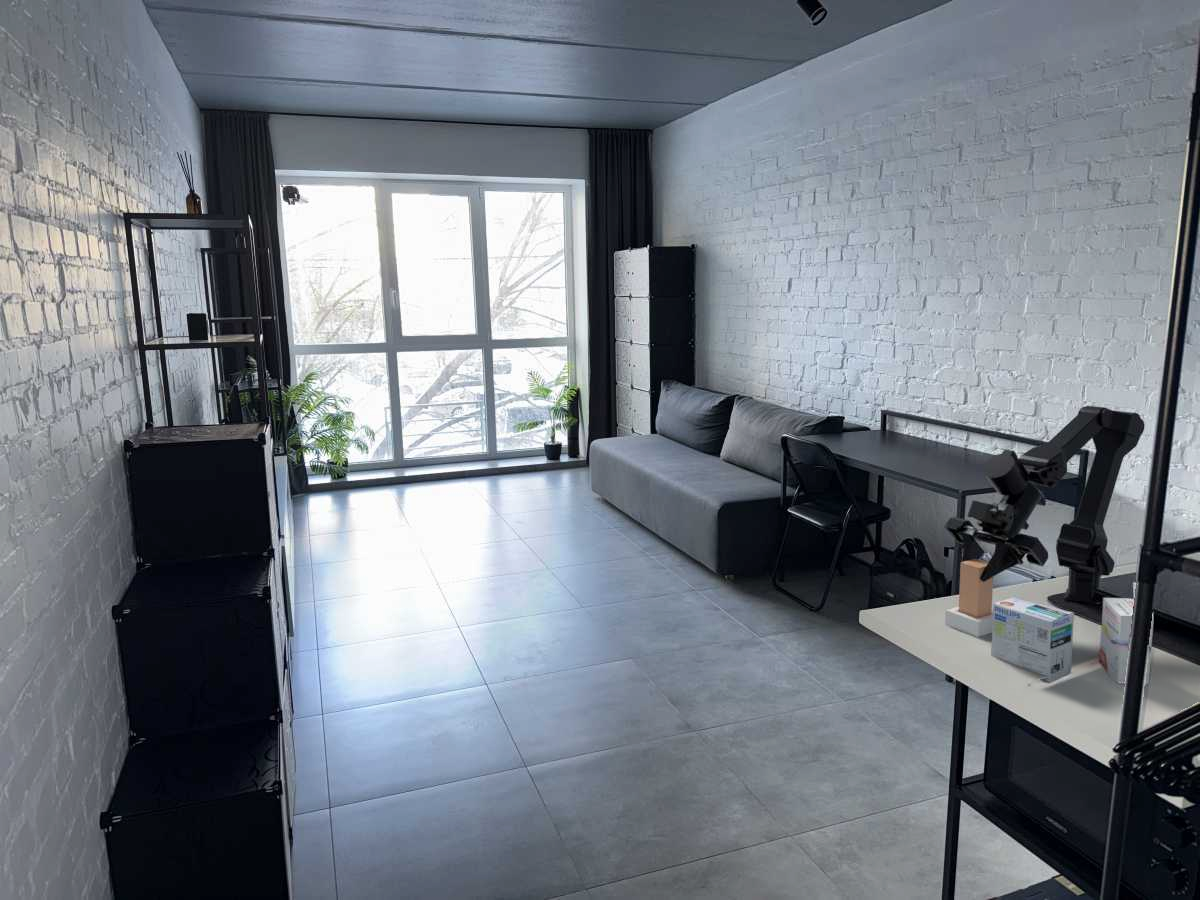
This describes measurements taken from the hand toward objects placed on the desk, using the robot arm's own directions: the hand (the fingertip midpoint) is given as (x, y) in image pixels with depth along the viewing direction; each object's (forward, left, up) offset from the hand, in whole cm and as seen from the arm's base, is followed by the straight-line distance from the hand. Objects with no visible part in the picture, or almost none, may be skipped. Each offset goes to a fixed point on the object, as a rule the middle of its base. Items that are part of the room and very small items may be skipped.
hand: (971, 577), depth 158 cm
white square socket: (-1, +1, -10) cm, 10 cm away
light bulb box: (+10, +11, -11) cm, 19 cm away
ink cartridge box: (+6, +25, -11) cm, 28 cm away
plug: (-1, +1, -7) cm, 8 cm away
